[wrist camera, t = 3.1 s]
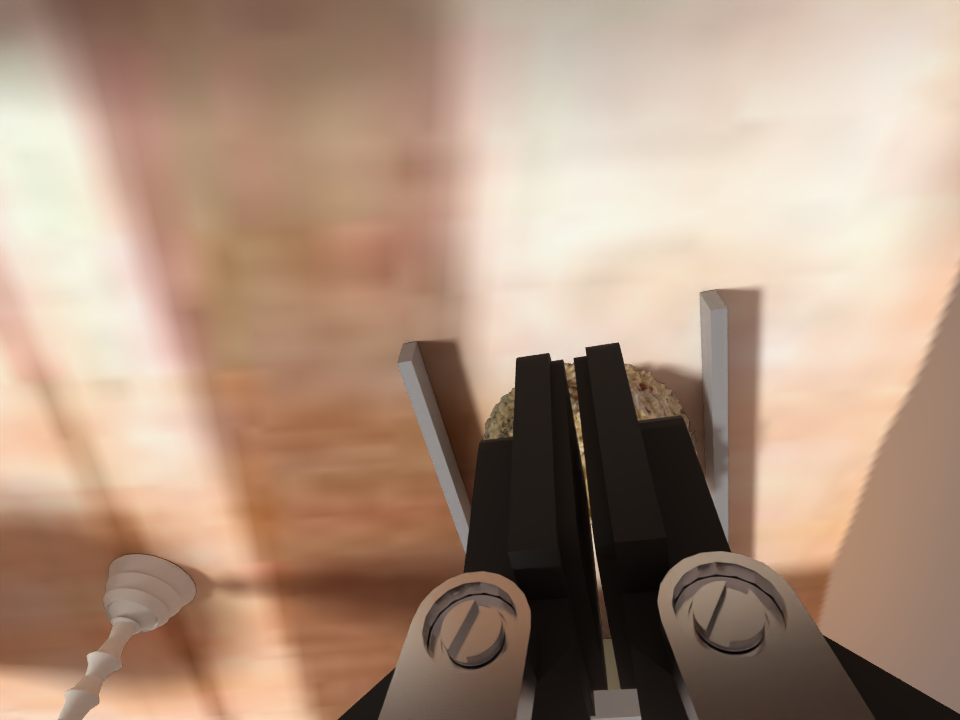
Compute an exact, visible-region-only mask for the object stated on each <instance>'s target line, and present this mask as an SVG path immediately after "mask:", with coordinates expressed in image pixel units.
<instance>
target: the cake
mask: <svg viewBox="0 0 960 720" xmlns="http://www.w3.org/2000/svg"><path fill="white" fill-rule="evenodd" d="M564 365H565V371H566V376H567V382H568V387H569V393H570V399H571V404H572V410H573V415H574V421H575V427H576V432H577V438H578V443H579V449H580V454H581V460H582V466H583V471H584V477H585V483H586V490H587V497H588V506H589V515H590V525H592V520H591V511H590V502H589V493H588V484H587V475H586V466H585V457H584V448H583V439H582V430H581V421H580V412H579V403H578V394H577V385H576V376H575V367H574V363H573V364H572V365H570V364H565V363H564ZM624 365H625V369H626V373H627V377H628V382H629V386H630V390H631V394H632V398H633V402H634V406H635V410H636V414H637V418H638V421H639V420H647V419H654V418H662V417H670V416H678V415H681V416H682V417H683V418H684V421H685V423H686V426H687V429H689V428H688V427H689V425H690V422H689V418H687V416H686V415H685V414H684V413H681V412H680V410H681V409H682V405H680V404H679V403H678V402H679V401H680V400H679V399H677V398H676V397H675V395H676V393H675V395H674V396H672V395H671V393H672V392H671V391H672V390H671V389H667V388H665V384H662V383H659V382H656V381H655V380H654V377H651V376H652V374H651V372H645V371H644V370H640V371H635V370H634V367H633V366H631V365H630V364H624ZM514 398H515V388H513V389H512V390H511V392H509V394H506V395H504V396H503V397H502V398H501V401H500V402H499V403H498V404H496V406H495V407H494V408H493V410H492V412H491V418H489V419H488V420H487V421H486V423H485V425H486V426H485V429H486V430H485V434H484V436H483V440H489V439H497V438H505V437H512V436H513V421H514ZM688 431H689V430H688ZM693 432H695V431H692V432H689V434H690V437H691V440H692V443H693V446H694V448H695V445H696V443H697V442H696V437H695V436H694V435H693ZM696 454H697V452H696ZM697 457H698V455H697Z"/></svg>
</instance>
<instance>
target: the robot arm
mask: <svg viewBox="0 0 960 720" xmlns="http://www.w3.org/2000/svg"><path fill="white" fill-rule="evenodd" d="M585 348H586V355H587V356H584V357H577V358H574V367H575V376H576V385H577V394H578V403H579V412H580V421H581V430H582V439H583V448H584V457H585V466H586V475H587V484H588V493H589V502H590V511H591V520H592V529H593V536H594V543H595V550H596V556H597V562H598V568H599V573H600V579H601V584H602V590H603V595H604V601H605V606H606V612H607V617H608V623H609V628H610V633H611V639H612V644H613V650H614V655H615V661H616V666H617V672H618V677H619V683H620V688H621V690H622V689H637V695H638V701H639V707H640V714H641V720H960V714H958V713H957V712H955V711H953V710H952V709H950V708H948V707H947V706H944V705H943V704H941V703H939V702H938V701H936V700H934V699H933V698H931V697H929V696H927V695H926V694H924V693H922V692H921V691H919V690H917V689H915V688H914V687H912V686H910V685H909V684H907V683H905V682H903V681H902V680H900V679H898V678H896V677H895V676H893V675H891V674H890V673H888V672H886V671H884V670H882V669H881V668H879V667H877V666H876V665H874V664H872V663H870V662H869V661H867V660H865V659H863V658H862V657H860V656H858V655H857V654H855V653H853V652H851V651H850V650H848V649H846V648H844V647H843V646H841V645H839V644H838V643H836V642H834V641H832V640H831V639H829V638H827V637H826V636H824V635H822V633H821V632H820V630H819V629H818V627H817V625H816V624H815V622H814V621H813V619H812V618H811V616H810V614H809V613H808V611H807V610H806V608H805V606H804V605H803V603H802V602H801V600H800V598H799V597H798V595H797V594H796V592H795V591H794V590H793V589H792V587H791V586H790V585H789V584H788V583H787V582H786V580H785V579H784V578H783V577H782V576H781V575H780V574H778V573H777V572H776V571H774V570H773V569H771V568H770V567H768V566H767V565H766V564H764V563H762V562H760V561H757V560H755V559H752V558H750V557H747V556H745V555H742V554H736V553H731V551H730V548H729V545H728V542H727V539H726V536H725V534H724V531H723V528H722V525H721V522H720V519H719V517H718V514H717V511H716V508H715V505H714V502H713V500H712V497H711V494H710V491H709V488H708V485H707V482H706V480H705V477H704V474H703V471H702V468H701V465H700V463H699V460H698V457H697V454H696V451H695V448H694V446H693V443H692V440H691V437H690V434H689V431H688V429H687V426H686V423H685V421H684V418H683V417H682V416H681V415H678V416H670V417H662V418H654V419H647V420H639V421H638V418H637V414H636V410H635V406H634V402H633V398H632V394H631V390H630V386H629V382H628V377H627V373H626V369H625V365H624V361H623V357H622V353H621V349H620V345H619V343H612V344H605V345H598V346H592V347H585ZM600 690H608V682H607V673H606V663H605V654H604V645H603V636H602V626H601V617H600V608H599V599H598V589H597V580H596V571H595V562H594V552H593V543H592V534H591V525H590V515H589V506H588V497H587V490H586V483H585V477H584V471H583V466H582V460H581V454H580V449H579V443H578V438H577V432H576V427H575V421H574V415H573V410H572V404H571V399H570V393H569V387H568V382H567V376H566V371H565V365H564V361H563V360H557V361H551V357H550V354H549V353H546V354H539V355H532V356H526V357H519V358H517V359H516V376H515V398H514V421H513V436H512V437H505V438H497V439H489V440H482V441H481V442H480V444H479V449H478V456H477V465H476V473H475V482H474V490H473V498H472V507H471V515H470V524H469V532H468V541H467V549H466V558H465V566H464V574H461V575H458V576H456V577H453V578H450V579H448V580H446V581H445V582H444V583H442V584H441V585H439V586H438V587H436V588H435V589H433V590H432V591H431V592H430V594H429V595H428V596H427V597H426V598H425V599H424V600H423V601H422V602H421V604H420V606H419V608H418V610H417V612H416V614H415V616H414V618H413V620H412V622H411V625H410V628H409V631H408V634H407V637H406V640H405V643H404V646H403V649H402V651H401V654H400V657H399V660H398V663H397V666H396V668H394V669H393V670H392V671H391V672H390V673H389V674H388V675H387V676H386V677H384V678H383V679H382V680H381V681H380V682H379V683H378V684H377V685H376V686H374V687H373V688H372V689H371V690H370V691H369V692H368V693H367V694H366V695H364V696H363V697H362V698H361V699H360V700H359V701H358V702H357V703H356V704H354V705H353V706H352V707H351V708H350V709H349V710H348V711H347V712H346V713H344V714H343V715H342V716H341V717H340V718H339V719H338V720H591V717H590V716H596V713H595V702H594V691H600Z"/></svg>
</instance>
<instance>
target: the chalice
mask: <svg viewBox="0 0 960 720" xmlns="http://www.w3.org/2000/svg"><path fill="white" fill-rule="evenodd" d="M108 573H109V580H108V581H107V583H106V594H105V595H104V598H103V604H104V609H105V612H106V615H107V617H108V618H109V619H110V620H111V625H112V626H113V628H112V630H111V633H110V636H109V638H108V639H107V640H106V641H105V643H104V644H103V645H102V646H101V647H100V648H99V649H98V650H96V651H94V652H91V653H89V654H88V655H87V661H88V668H87V671H86V674H85V677H84V678H83V679H82V680H81V681H80V682H79V683H78V684H77V685H76V686H75V687H73V688H71V689H70V690H68V691H67V692H65V703H64V706H63V708H62V711H61V713H60V716H59V718H58V720H82V719H83V718H84V716H85V715H86V714H87V713H88V712H89V710H90V709H92V708H93V707H95V706H97V705H98V704H99V692H100V689H101V685H102V682H103V681H104V680H105V679H106V678H107V677H108V676H109V675H110V674H111V673H112V672H114V671H117V670H119V669H120V668H122V662H121V658H120V657H121V654H122V652H123V649H124V646H125V644H126V642H127V641H128V640H129V639H130V638H131V637H132V636H133V634H137V633H139V632H148V631H151V630H154V629H156V628H158V627H160V626H162V625H164V624H165V623H166V622H168V620H169V618H171V617H173V616H174V615H175V614H177V613H178V612H179V611H180V609H181V608H182V607H183V606H185V605H187V604H188V603H189V602H190V601H192V600H193V599H194V596H195V593H196V589H195V584H194V582H193V581H192V579H191V578H190V576H189V575H188V574H187V573H186V572H184V571H183V570H182V569H181V568H180V567H178V566H176V565H174V564H173V563H171V562H169V561H167V560H164V559H161V558H158V557H155V556H151V555H143V554H130V555H124V556H121V557H119V558H116V559H115V560H114V561H113V562H112V563H111V564H110V567H109V572H108Z"/></svg>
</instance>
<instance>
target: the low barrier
mask: <svg viewBox="0 0 960 720" xmlns="http://www.w3.org/2000/svg"><path fill="white" fill-rule="evenodd" d="M700 313H701V345H702V376H703V408H704V439H705V471H706V482H707V485H708V488H709V491H710V494H711V497H712V500H713V502H714V505H715V508H716V511H717V514H718V517H719V519H720V522H721V525H722V528H723V531H724V534H725V536H726V539H727V542H728V311H727V306H726V305H725V303H724V302H723V300H722V299H721V297H720V295H719V294H718V292H717V291H716V290H712V291H706V292H700ZM397 364H398V367H399V370H400V373H401V375H402V378H403V381H404V384H405V387H406V389H407V392H408V395H409V398H410V400H411V403H412V406H413V409H414V412H415V414H416V417H417V420H418V423H419V426H420V428H421V431H422V434H423V437H424V439H425V442H426V445H427V448H428V451H429V453H430V456H431V459H432V462H433V465H434V467H435V470H436V473H437V476H438V478H439V481H440V484H441V487H442V490H443V492H444V495H445V498H446V501H447V504H448V506H449V509H450V512H451V515H452V517H453V520H454V523H455V526H456V529H457V531H458V534H459V537H460V540H461V543H462V545H463V548H464V551H465V554H466V549H467V541H468V532H469V524H470V515H471V505H470V502H469V499H468V496H467V493H466V490H465V487H464V484H463V481H462V478H461V475H460V472H459V468H458V465H457V462H456V459H455V456H454V453H453V450H452V447H451V444H450V441H449V438H448V435H447V432H446V429H445V426H444V423H443V420H442V417H441V414H440V411H439V408H438V405H437V402H436V399H435V396H434V393H433V390H432V387H431V384H430V381H429V378H428V375H427V372H426V369H425V366H424V363H423V360H422V357H421V353H420V350H419V347H418V344H417V342H412V343H406V344H403V346H402V349H401V352H400V355H399V359H398V362H397ZM603 645H604V654H605V663H606V673H607V682H608V690H600V691H594V702H595V713H596V716H590V717H591V720H641V714H640V707H639V701H638V695H637V689H622V690H621V688H620V683H619V677H618V672H617V666H616V661H615V655H614V650H613V644H612V639H603Z"/></svg>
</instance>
